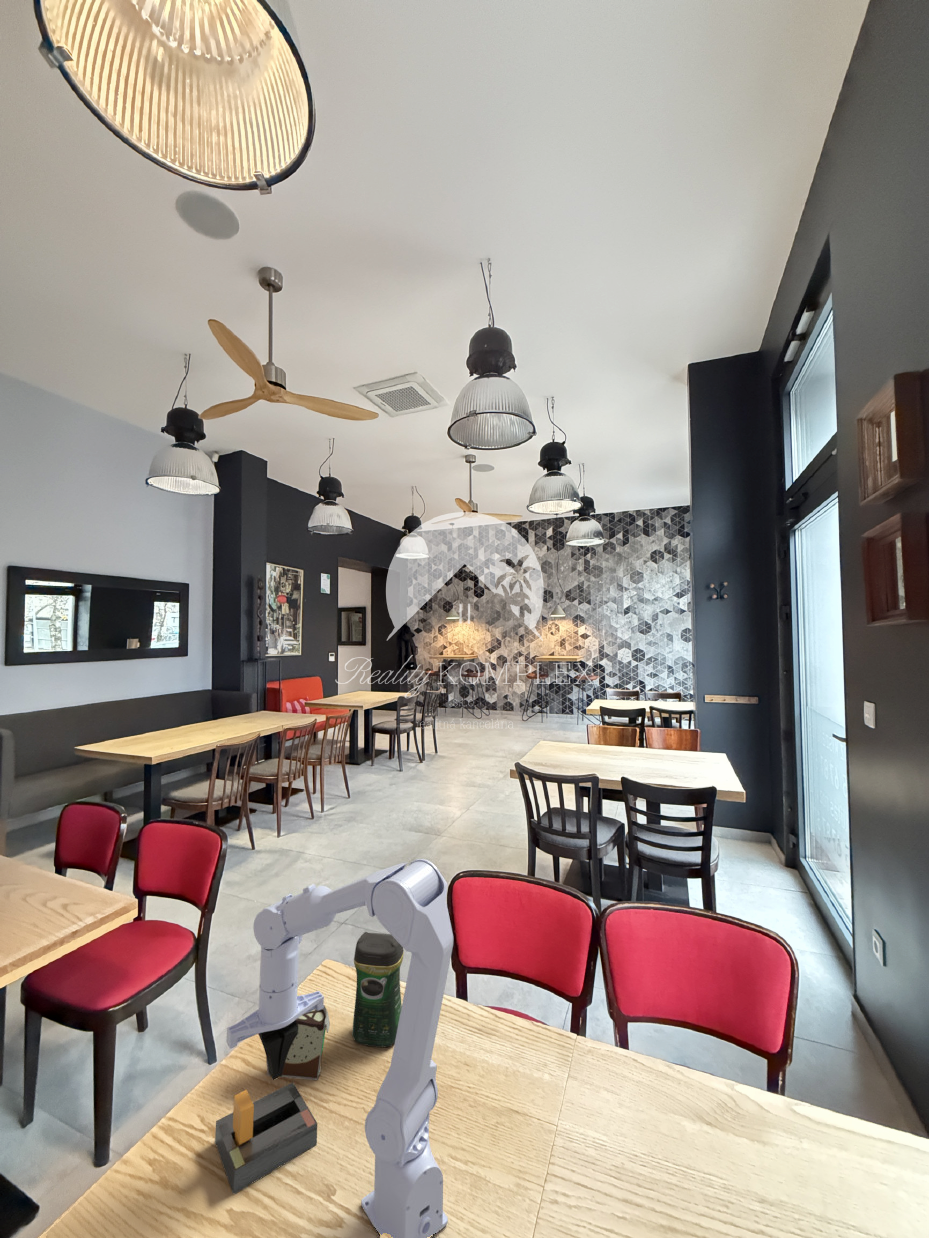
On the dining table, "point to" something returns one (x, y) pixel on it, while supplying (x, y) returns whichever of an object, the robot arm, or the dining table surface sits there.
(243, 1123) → the lever
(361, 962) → the coffee jar
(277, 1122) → the switch box
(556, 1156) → the dining table surface
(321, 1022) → the food container
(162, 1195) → the dining table surface
